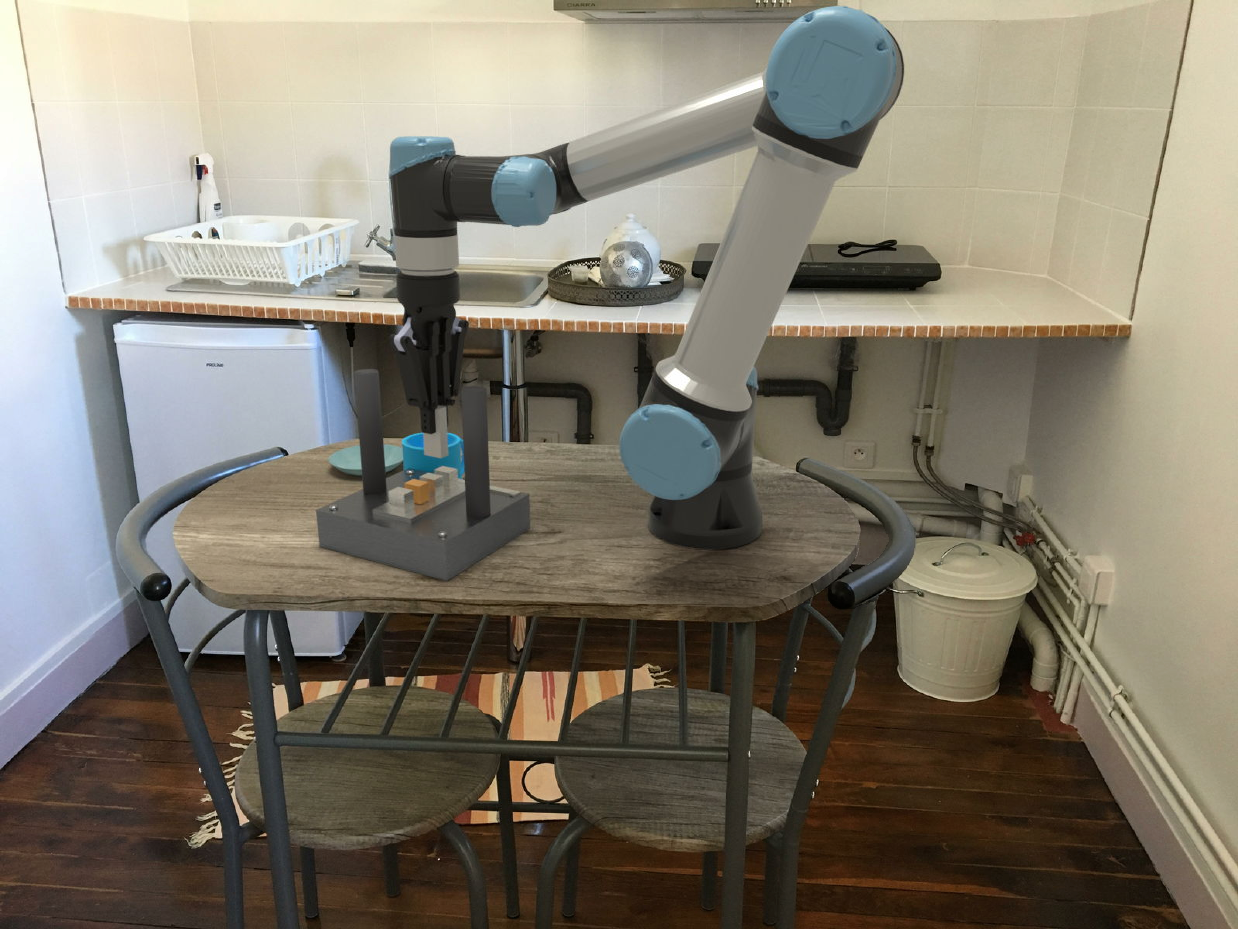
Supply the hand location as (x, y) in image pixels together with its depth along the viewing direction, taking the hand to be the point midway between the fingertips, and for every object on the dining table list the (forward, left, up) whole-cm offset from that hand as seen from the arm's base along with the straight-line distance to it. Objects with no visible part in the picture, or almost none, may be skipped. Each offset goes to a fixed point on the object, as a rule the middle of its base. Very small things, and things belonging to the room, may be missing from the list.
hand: (436, 454), depth 130 cm
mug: (+9, -12, -11) cm, 19 cm away
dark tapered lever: (-8, +3, -6) cm, 11 cm away
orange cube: (0, +4, -5) cm, 7 cm away
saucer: (+24, -14, -11) cm, 30 cm away
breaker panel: (0, +3, -11) cm, 11 cm away
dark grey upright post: (+8, +3, -6) cm, 10 cm away
